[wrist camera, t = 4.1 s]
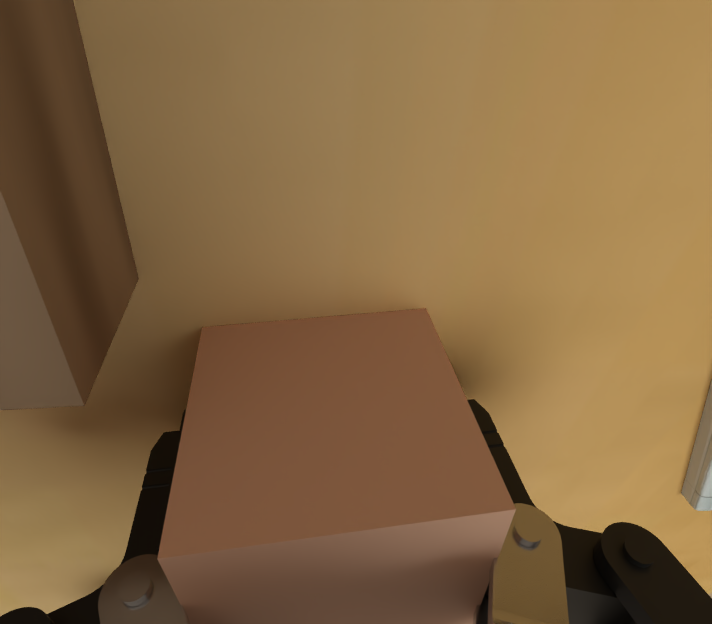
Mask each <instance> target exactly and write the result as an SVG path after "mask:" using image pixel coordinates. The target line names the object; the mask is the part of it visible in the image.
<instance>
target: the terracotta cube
mask: <svg viewBox="0 0 712 624" xmlns="http://www.w3.org/2000/svg"><path fill="white" fill-rule="evenodd" d="M515 511H516V508H515V506H514V503H513V501H512V499H511V497H510V495H509V492H508V490H507V488H506V486H505V483H504V481H503V479H502V477H501V474H500V472H499V470H498V468H497V466H496V463H495V461H494V459H493V457H492V454H491V452H490V450H489V448H488V445H487V443H486V441H485V439H484V437H483V434H482V432H481V430H480V428H479V425H478V423H477V421H476V419H475V416H474V414H473V412H472V410H471V408H470V405H469V403H468V401H467V399H466V396H465V394H464V392H463V390H462V387H461V385H460V383H459V381H458V379H457V376H456V374H455V372H454V370H453V367H452V365H451V363H450V361H449V358H448V356H447V354H446V352H445V350H444V347H443V345H442V343H441V341H440V338H439V336H438V334H437V332H436V329H435V327H434V325H433V323H432V321H431V318H430V316H429V314H428V312H427V309H426V308H423V309H412V310H400V311H388V312H376V313H364V314H352V315H340V316H328V317H316V318H305V319H293V320H281V321H269V322H257V323H245V324H233V325H221V326H209V327H202V331H201V336H200V341H199V346H198V351H197V356H196V361H195V367H194V372H193V377H192V382H191V387H190V392H189V398H188V403H187V408H186V413H185V418H184V423H183V429H182V434H181V439H180V444H179V449H178V454H177V460H176V465H175V470H174V475H173V480H172V485H171V490H170V496H169V501H168V506H167V511H166V516H165V521H164V527H163V532H162V537H161V542H160V547H159V552H158V558H157V559H158V561H159V563H160V565H161V567H162V569H163V571H164V573H165V575H166V577H167V579H168V581H169V583H170V585H171V587H172V589H173V591H174V593H175V595H176V597H177V599H178V601H179V603H180V605H183V607H184V609H185V611H186V613H187V615H188V618H189V621H190V624H473V614H474V611H475V609H476V606H477V605H481V603H482V600H483V597H484V594H485V592H486V589H487V586H488V584H489V570H490V567H491V564H492V561H493V559H494V558H498V557H499V554H500V551H501V549H502V546H503V543H504V541H505V538H506V535H507V532H508V530H509V527H510V524H511V522H512V519H513V516H514V514H515Z"/></svg>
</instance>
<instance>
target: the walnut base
mask: <svg viewBox="0 0 712 624" xmlns="http://www.w3.org/2000/svg"><path fill="white" fill-rule="evenodd" d="M137 282H138V275H137V270H136V266H135V262H134V258H133V253H132V249H131V245H130V241H129V236H128V232H127V228H126V224H125V219H124V215H123V211H122V207H121V202H120V198H119V194H118V190H117V185H116V181H115V177H114V173H113V168H112V164H111V160H110V156H109V151H108V147H107V143H106V139H105V134H104V130H103V126H102V122H101V118H100V113H99V109H98V105H97V101H96V96H95V92H94V88H93V84H92V79H91V75H90V71H89V67H88V62H87V58H86V54H85V50H84V45H83V41H82V37H81V33H80V28H79V24H78V20H77V16H76V11H75V7H74V3H73V0H0V410H12V409H32V408H51V407H70V406H84V405H85V403H86V400H87V398H88V396H89V393H90V391H91V389H92V386H93V384H94V382H95V379H96V377H97V375H98V372H99V370H100V368H101V365H102V363H103V361H104V358H105V356H106V354H107V351H108V349H109V347H110V344H111V342H112V340H113V337H114V335H115V333H116V331H117V328H118V326H119V324H120V321H121V319H122V317H123V314H124V312H125V310H126V307H127V305H128V303H129V300H130V298H131V296H132V293H133V291H134V289H135V286H136V284H137Z"/></svg>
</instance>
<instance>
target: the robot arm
mask: <svg viewBox="0 0 712 624" xmlns="http://www.w3.org/2000/svg"><path fill="white" fill-rule="evenodd" d="M467 401H468V403H469V405H470V408H471V410H472V412H473V414H474V416H475V419H476V421H477V423H478V425H479V428H480V430H481V432H482V434H483V437H484V439H485V441H486V443H487V445H488V448H489V450H490V452H491V454H492V457H493V459H494V461H495V463H496V466H497V468H498V470H499V472H500V474H501V477H502V479H503V481H504V483H505V486H506V488H507V490H508V492H509V495H510V497H511V499H512V501H513V503H514V506H515V508H516V511H515V514H514V516H513V519H512V522H511V524H510V527H509V530H508V532H507V535H506V538H505V541H504V543H503V546H502V549H501V551H500V554H499V557H498V558H494V559H493V561H492V564H491V567H490V570H489V584H488V586H487V589H486V592H485V594H484V597H483V600H482V603H481V605H477V606H476V609H475V611H474V614H473V624H712V598H711V597H710V596H709V595H708V594H707V593H706V592H705V591H704V589H703V588H702V587H701V586H700V585H699V584H698V583H697V581H696V580H695V579H694V578H693V577H692V576H691V575H690V573H689V572H688V571H687V570H686V569H685V568H684V567H683V566H682V564H681V563H680V562H679V561H678V560H677V559H676V558H675V556H674V555H673V554H672V553H671V552H670V551H669V550H668V548H667V547H666V546H665V545H664V544H663V543H662V542H661V541H660V540H659V539H658V538H657V537H656V536H655V535H653V534H652V533H651V532H649V531H648V530H646V529H644V528H642V527H640V526H638V525H635V524H631V523H626V522H618V523H614V524H611V525H609V526H608V527H607V528H606V529H605V530H604V532H603V533H598V532H593V531H588V530H582V529H577V528H572V527H568V526H564V525H561V524H559V523H556V522H554V521H553V520H552V519H551V518H550V517H549V516H548V515H546V514H545V513H544V512H543V511H541V510H539V509H538V508H536V506H535V505H534V504H533V502H532V501H531V499H530V497H529V495H528V493H527V491H526V489H525V487H524V485H523V483H522V481H521V479H520V477H519V475H518V473H517V471H516V469H515V466H514V464H513V462H512V460H511V458H510V456H509V454H508V452H507V450H506V448H505V447H504V446H503V442H502V440H501V438H500V435H499V433H497V429H496V427H495V425H494V423H493V421H492V419H491V417H490V415H489V413H488V412H487V411H486V410H485V409H484V408H483V407H482V406H481V405H480V404H479V403H478V402H477V401H475V400H474V399H472V400H467ZM185 413H186V409H185V410H184V412H183V416H182V421H181V426H180V431H172V432H164V433H163V435H162V436H161V437H160V439H159V440H158V442H157V443H156V444H155V446H154V447H153V449H152V450H151V453H150V457H149V461H148V465H147V469H146V474H145V477H144V481H143V485H142V491H141V493H140V497H139V501H138V505H137V509H136V513H135V517H134V521H133V525H132V529H131V533H130V537H129V541H128V545H127V549H126V553H125V556H124V558H123V560H122V562H121V564H120V566H119V567H118V568H117V569H116V570H114V571H113V572H112V574H111V575H110V576H109V577H108V579H107V580H106V582H105V583H104V584H103V585H102V586H101V587H100V588H99V589H97V590H96V591H94V592H93V593H91V594H89V595H87V596H85V597H83V598H81V599H79V600H77V601H75V602H72V603H70V604H68V605H66V606H64V607H62V608H59V609H57V610H55V611H53V612H51V613H49V614H46V613H44V612H43V611H42V610H40V609H38V608H33V607H24V608H19V609H15V610H13V611H10V612H8V613H6V614H4V615H2V616H1V617H0V624H190V621H189V618H188V615H187V613H186V611H185V609H184V607H183V605H180V603H179V601H178V599H177V597H176V595H175V593H174V591H173V589H172V587H171V585H170V583H169V581H168V579H167V577H166V575H165V573H164V571H163V569H162V567H161V565H160V563H159V561H158V559H157V558H158V552H159V547H160V542H161V537H162V532H163V527H164V521H165V516H166V511H167V506H168V501H169V496H170V490H171V485H172V480H173V475H174V470H175V465H176V460H177V454H178V449H179V444H180V439H181V434H182V429H183V423H184V418H185Z"/></svg>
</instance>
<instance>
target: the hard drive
mask: <svg viewBox="0 0 712 624" xmlns="http://www.w3.org/2000/svg"><path fill="white" fill-rule="evenodd" d="M681 493H682V495H683V496H684V497H685V498H686V500H687V501H688V502H689V504H690V505H691V506H692V507H693V508H694V509H695V510H698V511H709V510H712V381H711V384H710V388H709V392H708V395H707V399H706V403H705V406H704V410H703V414H702V418H701V421H700V425H699V429H698V432H697V436H696V440H695V444H694V447H693V451H692V455H691V458H690V462H689V466H688V470H687V474H686V477H685V481H684V484H683V488H682V492H681Z"/></svg>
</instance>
